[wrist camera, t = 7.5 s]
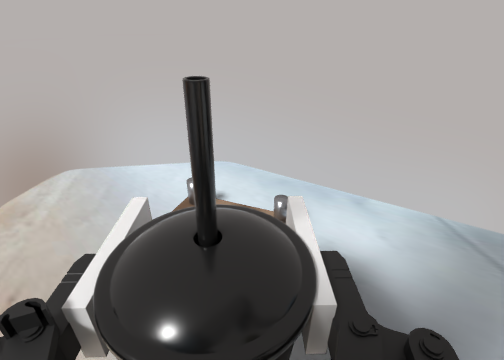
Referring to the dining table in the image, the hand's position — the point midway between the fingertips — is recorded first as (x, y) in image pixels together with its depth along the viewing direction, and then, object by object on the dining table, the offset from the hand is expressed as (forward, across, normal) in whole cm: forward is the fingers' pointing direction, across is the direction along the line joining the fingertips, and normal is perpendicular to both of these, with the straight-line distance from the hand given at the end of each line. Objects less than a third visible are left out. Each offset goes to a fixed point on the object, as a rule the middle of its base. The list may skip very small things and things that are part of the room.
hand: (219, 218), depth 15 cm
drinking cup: (-5, 0, -12) cm, 13 cm away
